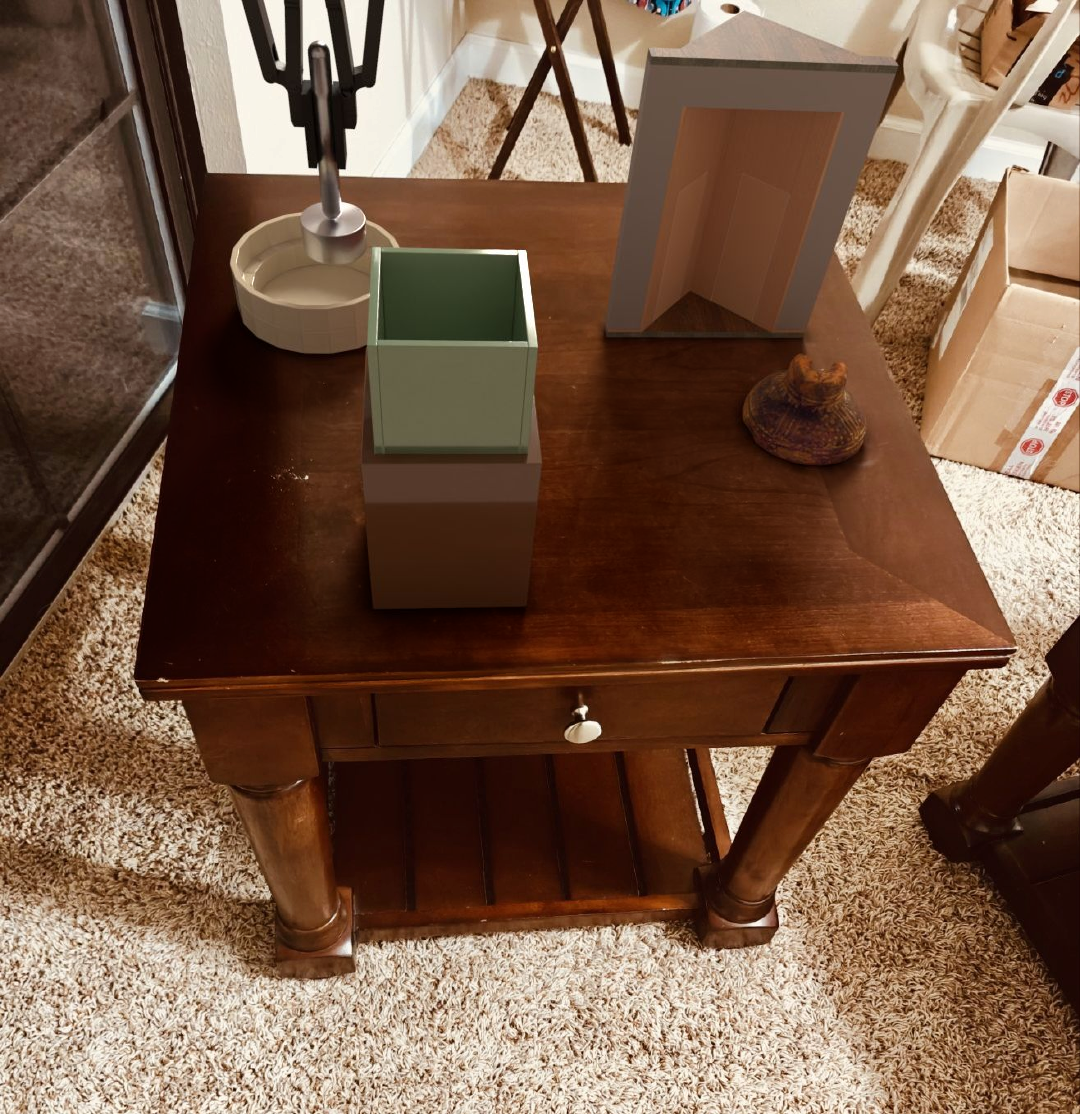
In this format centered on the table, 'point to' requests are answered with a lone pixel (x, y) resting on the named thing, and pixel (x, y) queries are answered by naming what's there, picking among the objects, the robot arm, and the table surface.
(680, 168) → the cabinet
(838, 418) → the bell
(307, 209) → the rod with disc base
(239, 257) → the mixing bowl
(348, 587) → the table surface
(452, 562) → the utensil holder
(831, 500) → the table surface
